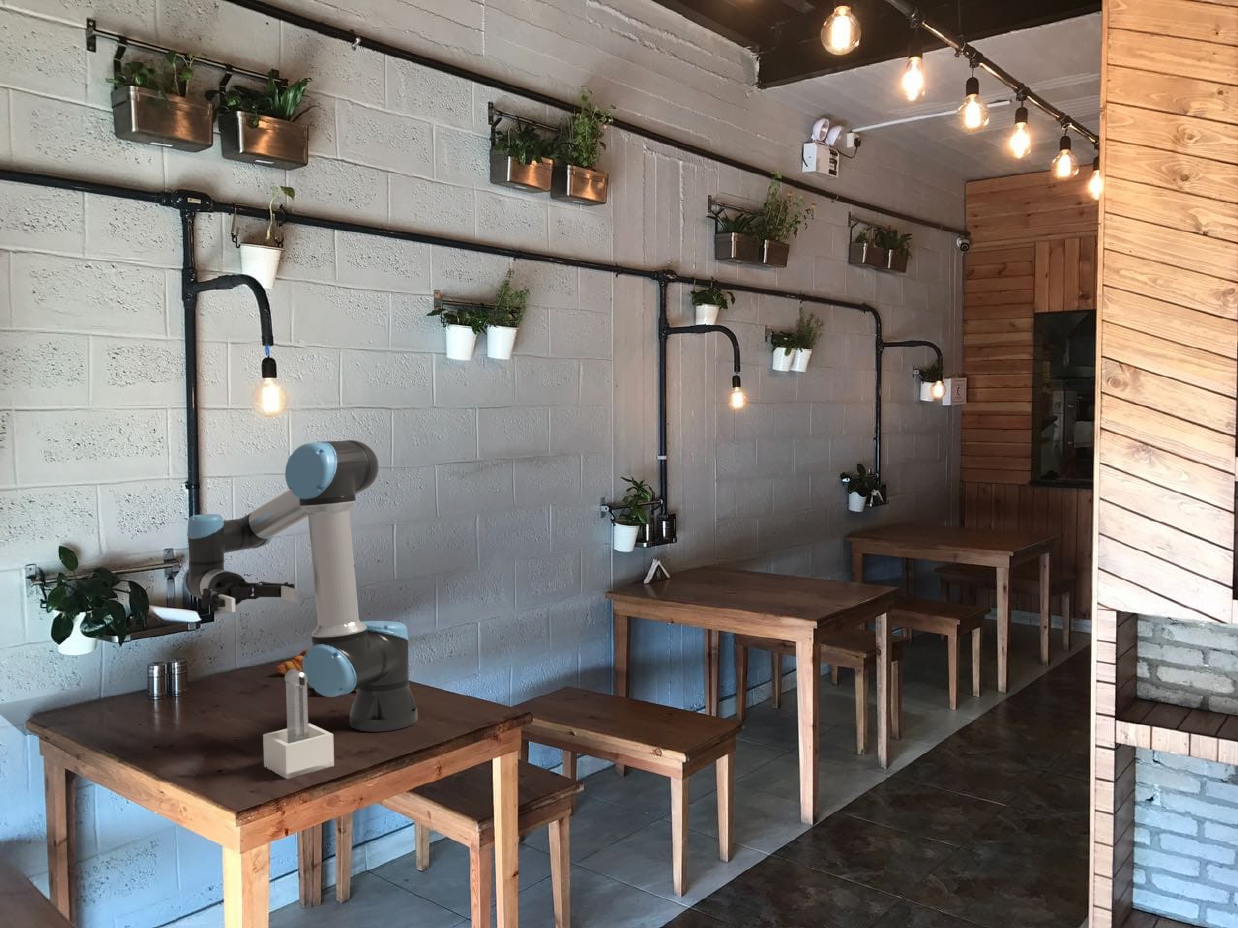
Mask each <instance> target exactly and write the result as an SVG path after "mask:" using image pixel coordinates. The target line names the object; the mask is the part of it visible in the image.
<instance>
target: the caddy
mask: <svg viewBox="0 0 1238 928" xmlns="http://www.w3.org/2000/svg"><path fill="white" fill-rule="evenodd" d="M262 737H263V738H262V740H263V741H262V743H263V745H262V746H263V767H264V768H266V767H267V768H266V769H267V770H269V771H271V770H272V771H271V772H273V771H274V773H275V774H277V775H279V776H280V777H282V778H284V779H285V780H288V779H289V780H290V779H293V778H296V777H300V776H302V775H307V774H311V773H314V772H318V771H321V770H326V769H328V768H331V767H332V768H333V767H335V755H334V754H335V751H334V750H335V749H334V734H333V733H331V732H329V731H327V730H325V729H323V728H321V727H319V726H317V725H314V724H312V723H310V722H308V737H309V739H305V740H301V741H297V742H293V743H289V744H288V736H287V728H283V729H281V730H276V731H272V732H271V731H270V732H267V733H264V734H262Z"/></svg>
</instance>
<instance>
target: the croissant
mask: <svg viewBox="0 0 1238 928" xmlns="http://www.w3.org/2000/svg"><path fill="white" fill-rule="evenodd" d="M308 650H309V648H306V649H303V650H302V651H301V652H300V653H299V654H298V655H295V656H293V657H292V658H291V660H289V661H288V660H287V661H284V662H282V663H280V665H277V666H275V669H276V672H277V673H280V674H282V675H284V676H285V675H286V673H287V672H288V671H289V670H292V669H294V670H297V671H300V672H302V673H303V667H302V663H303V657H304V655H306V652H307V651H308Z"/></svg>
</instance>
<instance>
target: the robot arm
mask: <svg viewBox="0 0 1238 928" xmlns="http://www.w3.org/2000/svg"><path fill="white" fill-rule="evenodd" d="M284 471H285V473H284V475H285V476H284V477H285V483H286V485H287V487H288V488H287V489H289V490H287V491H285V492H284V493H282V494H280V495H277V497H275V498H273V499H271V500H270V501H268V502H266V503H265V504H263V505H261V506H260V507H257V509H255V510H253V511H252V512H250V513H248V514H245V516H243V517H241V518H235V519H226V520H223V516H222V515H221V514H217V513H207V514H196V515H192V516H190V517H189V518H188V519H187V520H188V521H187V533H186V535H187V545H188V546H187V547H188V548H187V549H188V569H187V570H185V572H184V574H183V578H182V585H183V587H184V589H185V591H186V592H188V594H190V595H191V596H192V597H195V598H196V599H200V600H201V608H202V609H204V610H205V609H207V608H209V607H210V606H211V612H217V611H219V609H220V610H221V609H222V610H225V611H228V612H231V613H235V612H236V606H237V605H239V604H240V603H241V602H243V601H246V600H257V599H259V598H281V600H284V601H288V602H291V603H299V589H297V588H295V587H296V586H295V583H289V582H288V581H286V582H284V583H280V582H269V581H268V582H266V581H263V580H262V581H261V580H260V581H259V582H248V581H246V580H245V578H244V577H243V576H242V575H240V574H238V573H235V572H232V571H229V570H225V554H226V553H232V552H239V551H243V550H250V549H251V550H252V549H258V548H260V547H264V546H266V545H268V544H270V542H271V541H272V539H273V537H274V536H276V535H277V534H279V533H281V532H283V531H284V530H286V529H288V528H290V527H292V526H294V525H295V524H297V523H298V522H301V521H302V520H304V519H306V518H308V529H309V539H310V540H309V542H310V551H311V561H312V572H313V573H312V574H313V581H314V582H313V583H314V584H313V585H314V596H315V606H316V618H317V626H316V627H315V628H314V630H313V631H312V632H311V644H312V646H311V647H310V648H308V649H309V650H308V651H307V652H306V655H304V657H303V663H302V667H303V673H305V674H306V675H307V677H308V681H307V685H309V686H310V687H311V688H312V689H313V688H314V689H313V690H314V691H315V693H316V692H317V693H319V694H321V696H324V697H327V698H329V697H330V698H334V697H339V696H342V695H343V696H344V695H348V694H350V693H352V692H354V691H353V690H356V689H357V692H356V691H355V692H356V693H355V696H354V699H353V702H352V704H351V705H352V706H351V708H350V713H349V726H350V727H351V728H353V729H354V730H356V731H361V732H362V731H363V732H370V733H371V732H374V733H375V732H378V733H379V732H390V731H395V730H396V731H397V730H401V729H403V728H404V729H405V728H406V727H410V726H411V725H414V724H415V723H416V722H417V721H418V706H417V704H416V701H415V699H414V696H413V693H412V691H411V687H410V675H409V674H410V673H409V671H410V670H409V669H410V668H409V642H410V640H409V637H408V636H409V635H408V633H409V632H408V627H407V626H406V625H405V623H403V622H399V621H389V620H388V621H387V620H364V621H363V620H362V621H361V620H360V618H359V617H360V615H359V605H358V604H359V603H358V594H357V581H356V572H355V571H356V570H355V561H354V547H353V536H352V525H351V517H350V516H351V514H350V511H351V510H350V509H351V508H352V507H353V506H354V505H355V503H357V499H356V495H357V494H359V493H361V492H363V491H365V490H366V489H368V488H369V487H370V486H372V485H373V483H374V482H375V481H376V479H377V476H378V475H379V474H378V473H379V460H378V457H377V455H376V453H375V452H374V450H373V449H372V447H370V446H369V445H367V444H365V443H364V442H362V441H359V440H354V439H352V440H350V439H348V440H329V441H328V440H327V441H326V440H325V441H324V440H323V441H319V440H317V441H313V442H308V443H304V444H301V445H300V446H298V447H297V448H296V449H295V450H293V453H292V454H291V455H290V456H289V458H288V459H287V461H286V465H285V470H284Z"/></svg>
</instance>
